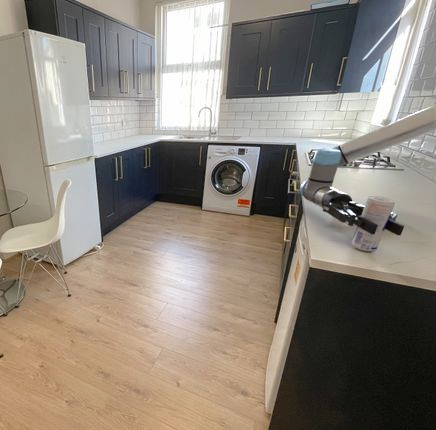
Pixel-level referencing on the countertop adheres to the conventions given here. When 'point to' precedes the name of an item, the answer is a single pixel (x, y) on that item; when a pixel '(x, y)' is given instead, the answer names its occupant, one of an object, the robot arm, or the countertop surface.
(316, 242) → the countertop surface
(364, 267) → the countertop surface
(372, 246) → the beverage can
